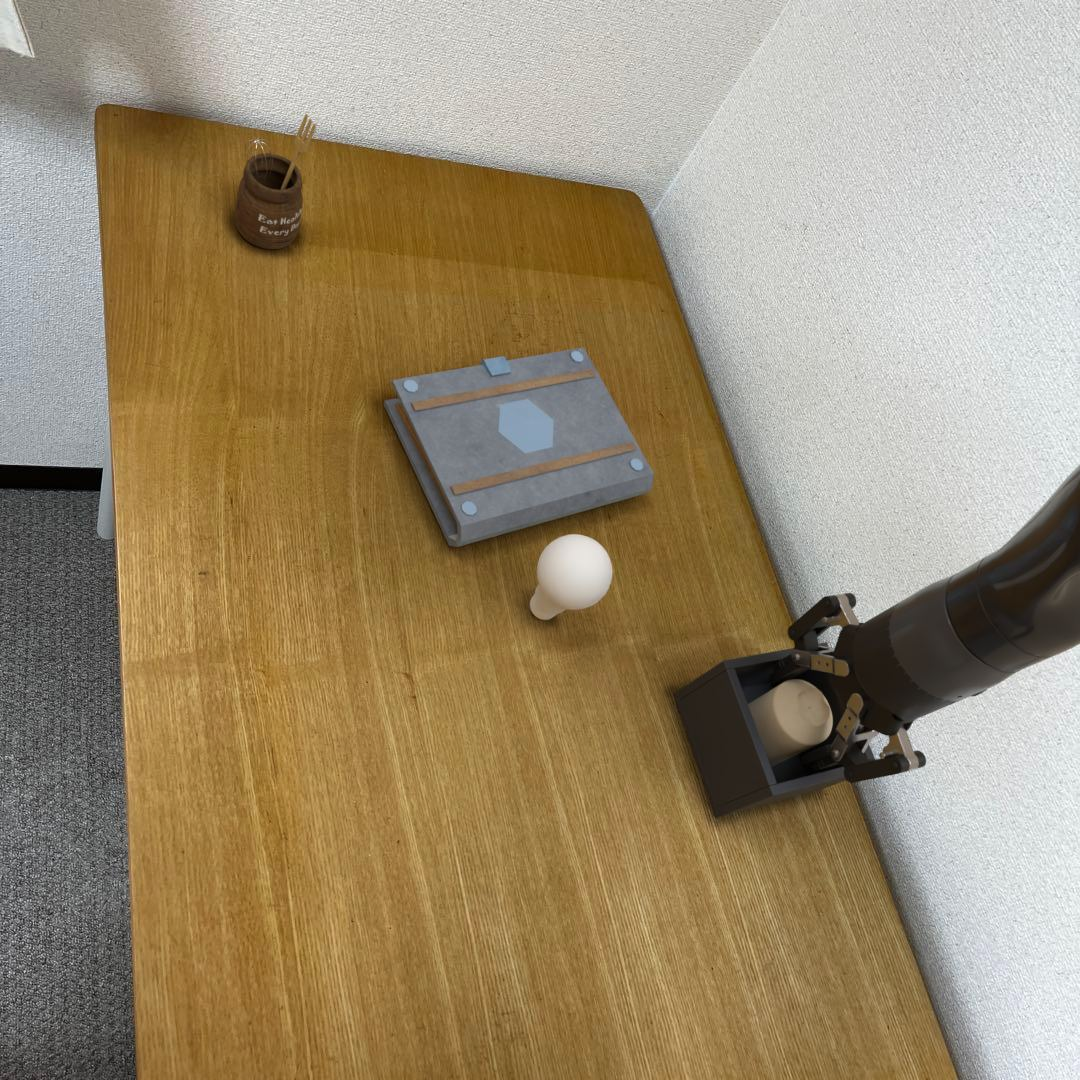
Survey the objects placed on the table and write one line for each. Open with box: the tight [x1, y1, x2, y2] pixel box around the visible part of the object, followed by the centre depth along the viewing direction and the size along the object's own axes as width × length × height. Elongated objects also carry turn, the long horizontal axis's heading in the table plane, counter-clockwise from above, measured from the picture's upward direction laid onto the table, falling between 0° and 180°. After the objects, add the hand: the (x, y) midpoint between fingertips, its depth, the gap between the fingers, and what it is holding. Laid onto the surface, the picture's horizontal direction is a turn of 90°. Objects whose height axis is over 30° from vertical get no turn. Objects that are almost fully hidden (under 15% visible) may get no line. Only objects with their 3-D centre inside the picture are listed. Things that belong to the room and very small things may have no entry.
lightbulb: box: [529, 533, 613, 621], centre depth 75 cm, size 6×6×11 cm
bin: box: [673, 641, 876, 819], centre depth 77 cm, size 11×11×9 cm
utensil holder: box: [235, 113, 317, 250], centre depth 83 cm, size 6×6×12 cm
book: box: [383, 347, 655, 548], centre depth 84 cm, size 21×16×5 cm
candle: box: [748, 679, 833, 767], centre depth 76 cm, size 6×6×10 cm
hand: (794, 718), depth 74 cm, fingers open, 6 cm apart
